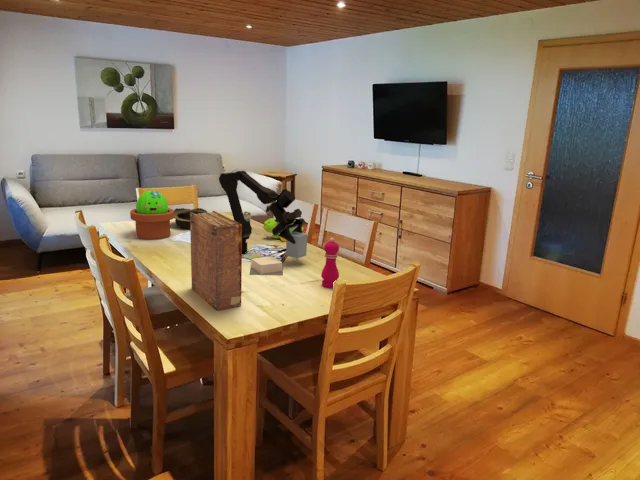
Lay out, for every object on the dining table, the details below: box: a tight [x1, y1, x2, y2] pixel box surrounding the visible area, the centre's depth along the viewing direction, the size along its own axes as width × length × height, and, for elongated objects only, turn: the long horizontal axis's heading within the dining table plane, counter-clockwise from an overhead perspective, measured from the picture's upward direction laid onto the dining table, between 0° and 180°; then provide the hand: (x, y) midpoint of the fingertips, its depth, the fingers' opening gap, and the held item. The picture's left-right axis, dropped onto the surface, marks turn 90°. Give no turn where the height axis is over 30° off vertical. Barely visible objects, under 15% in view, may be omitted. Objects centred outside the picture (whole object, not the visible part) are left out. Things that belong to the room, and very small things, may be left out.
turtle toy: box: [262, 217, 304, 243], centre depth 266 cm, size 17×23×12 cm
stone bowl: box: [173, 207, 209, 230], centre depth 284 cm, size 25×25×9 cm
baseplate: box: [248, 264, 284, 276], centre depth 210 cm, size 14×15×1 cm
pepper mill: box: [320, 237, 340, 289], centre depth 195 cm, size 7×7×20 cm
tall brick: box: [285, 232, 308, 259], centre depth 217 cm, size 7×7×10 cm
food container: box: [243, 211, 253, 222], centre depth 279 cm, size 12×6×10 cm, turn 168°
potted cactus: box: [129, 190, 175, 240], centre depth 257 cm, size 22×22×25 cm
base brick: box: [250, 256, 283, 274], centre depth 209 cm, size 10×10×4 cm
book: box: [189, 210, 243, 311], centre depth 176 cm, size 25×9×30 cm, turn 34°
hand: (299, 241), depth 216 cm, fingers closed on tall brick, 7 cm apart
